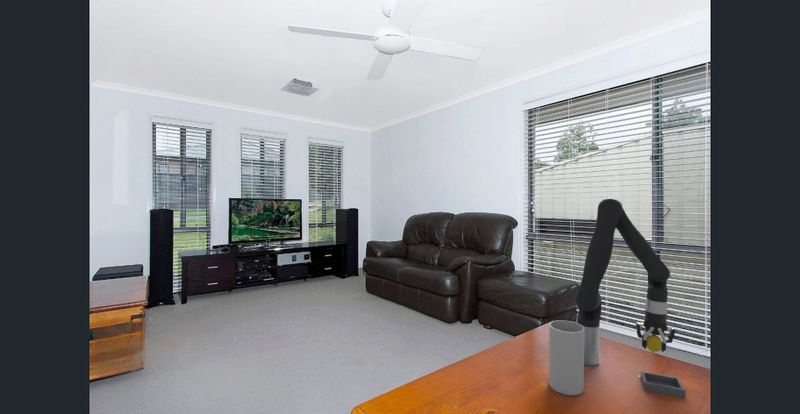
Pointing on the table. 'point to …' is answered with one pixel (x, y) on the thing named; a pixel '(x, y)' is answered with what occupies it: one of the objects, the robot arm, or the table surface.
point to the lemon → (653, 343)
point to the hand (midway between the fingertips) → (653, 349)
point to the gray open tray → (662, 384)
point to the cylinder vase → (566, 357)
